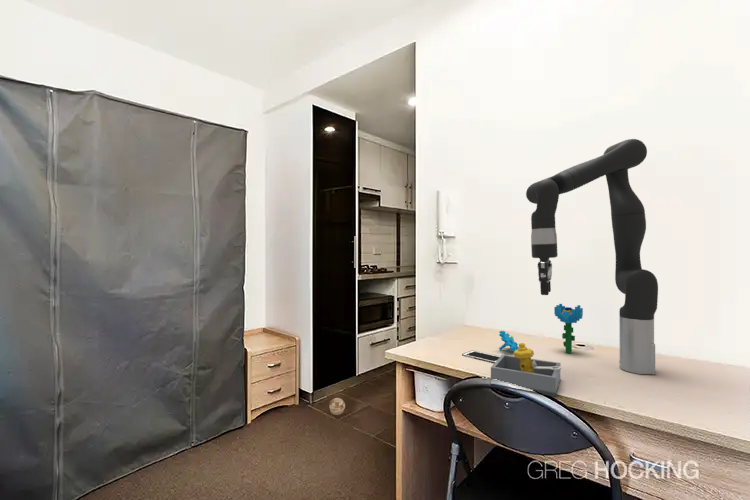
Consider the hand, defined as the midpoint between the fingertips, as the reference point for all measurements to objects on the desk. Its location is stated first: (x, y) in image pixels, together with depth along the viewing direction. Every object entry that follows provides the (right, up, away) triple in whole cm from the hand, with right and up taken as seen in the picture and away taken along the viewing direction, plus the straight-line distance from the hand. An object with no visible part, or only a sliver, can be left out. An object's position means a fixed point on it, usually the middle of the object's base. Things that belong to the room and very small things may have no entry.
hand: (545, 293), depth 116 cm
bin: (-10, -25, -9) cm, 29 cm away
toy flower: (+19, -25, +22) cm, 38 cm away
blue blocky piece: (-1, -26, +22) cm, 35 cm away
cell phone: (-15, -26, +15) cm, 34 cm away
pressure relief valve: (-7, -24, -11) cm, 27 cm away
